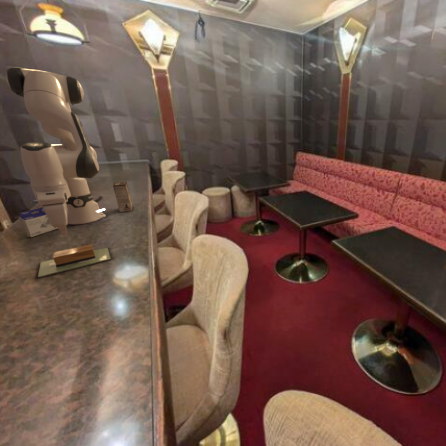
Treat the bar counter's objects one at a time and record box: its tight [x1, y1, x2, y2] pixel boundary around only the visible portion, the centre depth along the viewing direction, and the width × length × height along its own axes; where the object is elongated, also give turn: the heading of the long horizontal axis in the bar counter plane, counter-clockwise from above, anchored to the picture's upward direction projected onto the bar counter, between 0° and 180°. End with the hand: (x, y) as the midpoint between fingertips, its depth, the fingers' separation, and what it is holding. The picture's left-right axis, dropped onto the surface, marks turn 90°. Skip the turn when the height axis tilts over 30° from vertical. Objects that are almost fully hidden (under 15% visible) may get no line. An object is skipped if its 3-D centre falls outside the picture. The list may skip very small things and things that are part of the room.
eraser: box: [52, 244, 95, 267], centre depth 93 cm, size 5×11×4 cm, turn 131°
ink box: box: [18, 207, 59, 238], centre depth 114 cm, size 12×2×12 cm, turn 168°
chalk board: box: [37, 247, 112, 278], centre depth 93 cm, size 12×20×1 cm, turn 131°
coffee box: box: [112, 181, 133, 213], centre depth 147 cm, size 9×6×16 cm
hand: (65, 229), depth 89 cm, fingers open, 8 cm apart
